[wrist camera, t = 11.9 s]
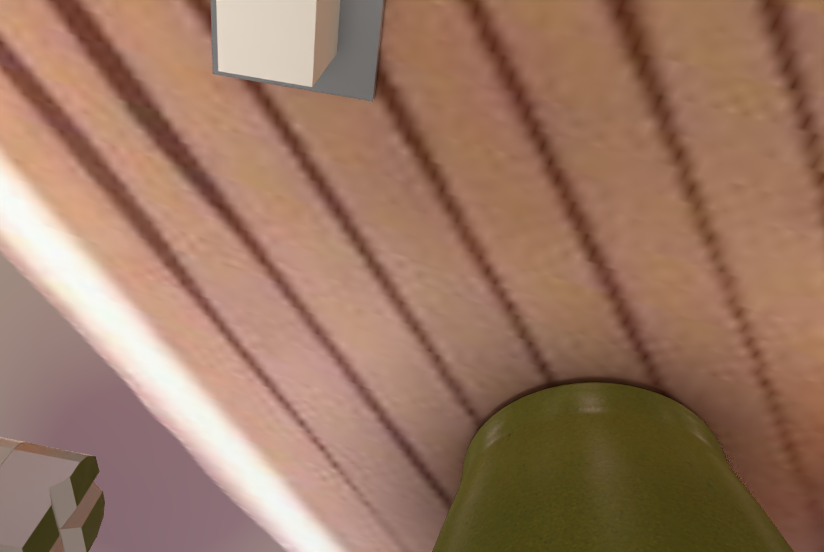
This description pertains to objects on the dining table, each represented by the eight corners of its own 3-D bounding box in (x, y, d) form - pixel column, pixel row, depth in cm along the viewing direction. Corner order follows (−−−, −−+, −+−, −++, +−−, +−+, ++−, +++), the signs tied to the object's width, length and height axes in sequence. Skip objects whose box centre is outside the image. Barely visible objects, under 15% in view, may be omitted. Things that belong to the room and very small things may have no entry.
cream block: (342, -37, 35) (317, -14, 30) (336, 53, 37) (312, 87, 33) (254, -52, 35) (215, -31, 30) (254, 39, 37) (218, 71, 33)
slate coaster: (393, -82, 34) (391, -79, 33) (374, 96, 39) (372, 101, 38) (213, -111, 34) (207, -110, 33) (218, 69, 39) (213, 74, 39)
